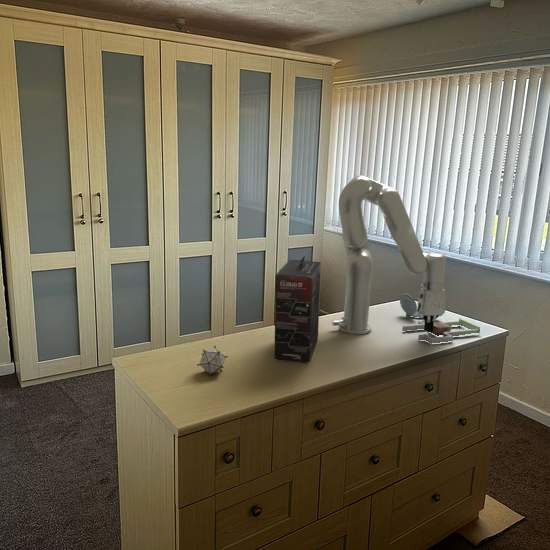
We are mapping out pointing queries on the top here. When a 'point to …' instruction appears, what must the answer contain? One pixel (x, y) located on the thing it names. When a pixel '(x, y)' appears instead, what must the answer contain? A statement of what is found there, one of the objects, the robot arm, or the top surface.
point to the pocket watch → (409, 305)
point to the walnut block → (440, 328)
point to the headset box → (297, 310)
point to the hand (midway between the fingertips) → (428, 331)
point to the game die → (212, 360)
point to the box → (446, 335)
